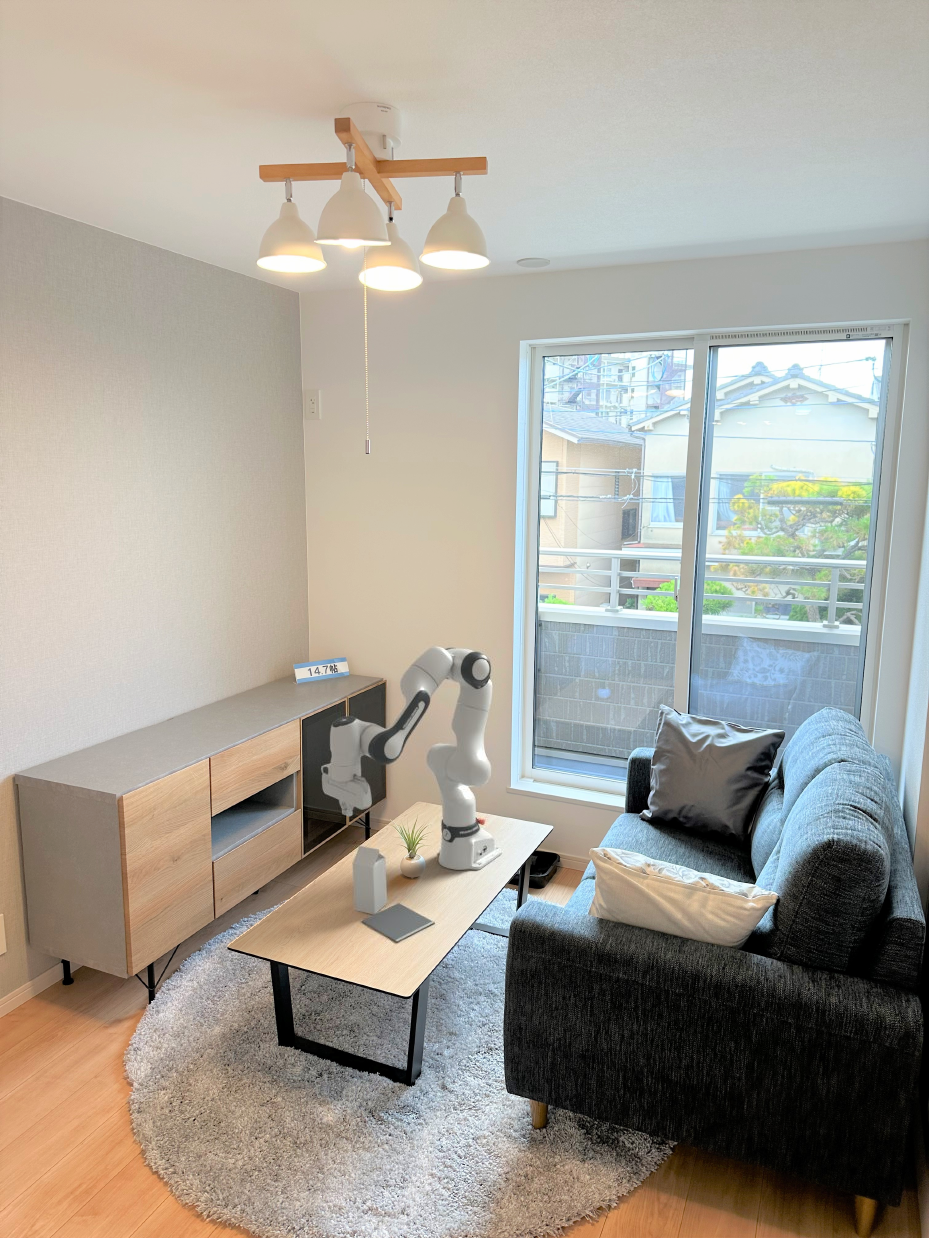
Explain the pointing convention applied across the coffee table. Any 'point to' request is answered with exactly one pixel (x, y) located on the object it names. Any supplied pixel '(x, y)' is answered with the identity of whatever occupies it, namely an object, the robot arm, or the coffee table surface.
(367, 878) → the milk carton
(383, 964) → the coffee table surface
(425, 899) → the coffee table surface
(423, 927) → the mat
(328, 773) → the robot arm
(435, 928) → the coffee table surface
